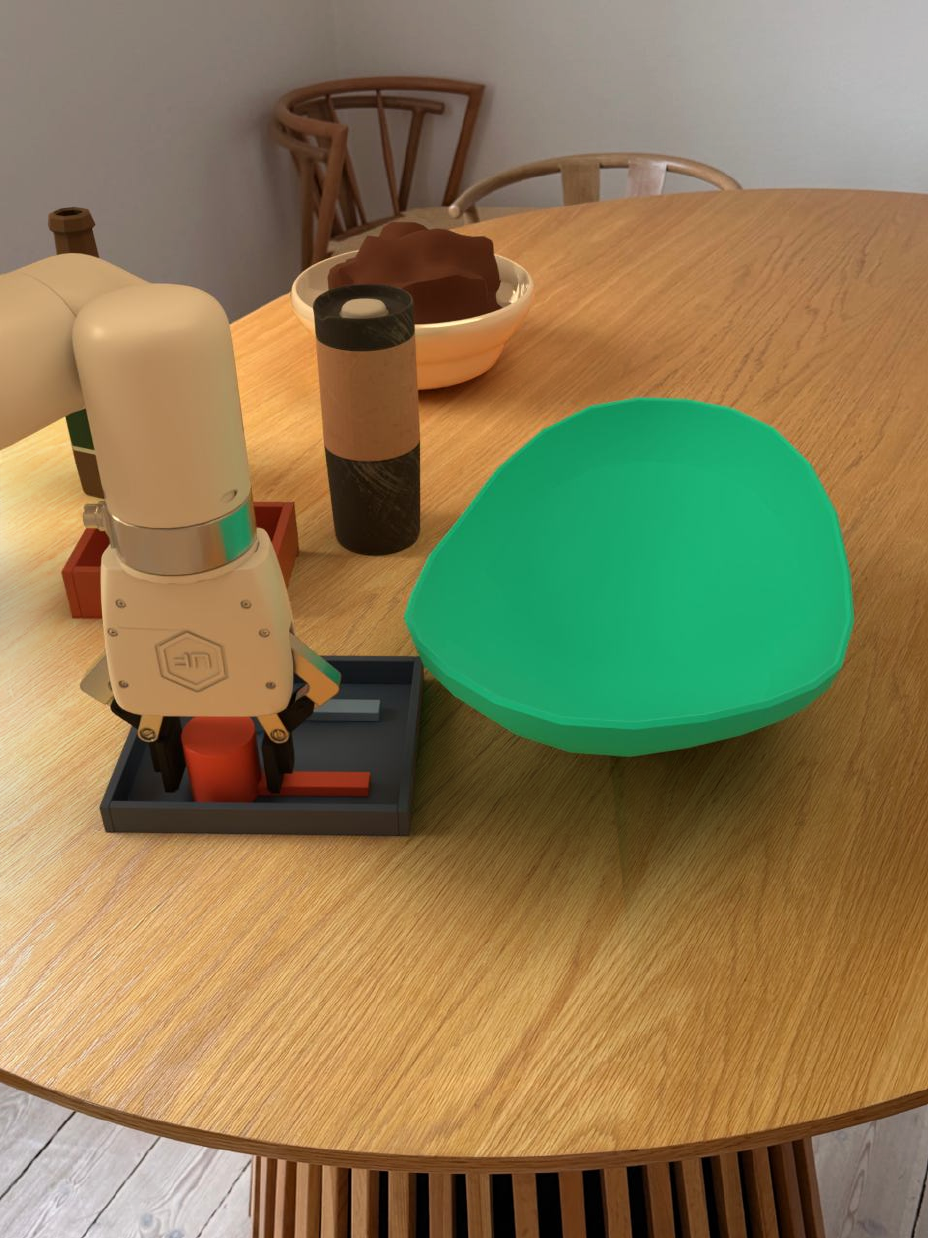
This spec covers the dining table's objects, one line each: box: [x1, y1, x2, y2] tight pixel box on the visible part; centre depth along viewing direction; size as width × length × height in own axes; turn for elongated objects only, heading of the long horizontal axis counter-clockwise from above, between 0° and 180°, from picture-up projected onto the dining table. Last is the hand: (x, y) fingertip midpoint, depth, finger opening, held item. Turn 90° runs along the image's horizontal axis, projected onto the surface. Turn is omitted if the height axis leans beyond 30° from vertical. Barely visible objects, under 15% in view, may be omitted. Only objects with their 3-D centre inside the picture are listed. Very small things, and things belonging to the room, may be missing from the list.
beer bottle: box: [47, 206, 105, 500], centre depth 103 cm, size 8×8×24 cm
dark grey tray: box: [98, 654, 425, 838], centre depth 78 cm, size 18×15×2 cm
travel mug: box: [313, 284, 421, 556], centre depth 96 cm, size 8×8×20 cm
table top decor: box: [403, 396, 855, 758], centre depth 79 cm, size 40×28×13 cm
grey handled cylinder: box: [250, 699, 381, 733], centre depth 80 cm, size 11×4×4 cm, turn 88°
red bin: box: [60, 501, 300, 620], centre depth 94 cm, size 16×11×4 cm
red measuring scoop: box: [181, 717, 371, 803], centre depth 74 cm, size 11×4×4 cm, turn 88°
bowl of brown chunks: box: [289, 221, 536, 391], centre depth 125 cm, size 25×25×15 cm
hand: (227, 775), depth 75 cm, fingers open, 5 cm apart
